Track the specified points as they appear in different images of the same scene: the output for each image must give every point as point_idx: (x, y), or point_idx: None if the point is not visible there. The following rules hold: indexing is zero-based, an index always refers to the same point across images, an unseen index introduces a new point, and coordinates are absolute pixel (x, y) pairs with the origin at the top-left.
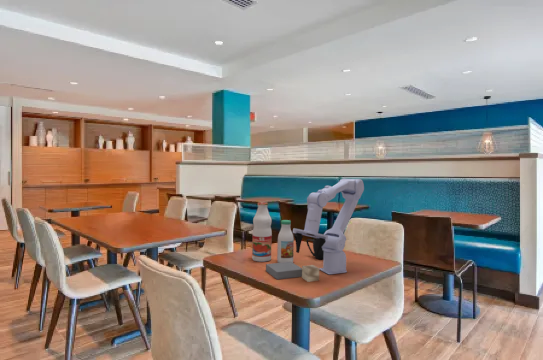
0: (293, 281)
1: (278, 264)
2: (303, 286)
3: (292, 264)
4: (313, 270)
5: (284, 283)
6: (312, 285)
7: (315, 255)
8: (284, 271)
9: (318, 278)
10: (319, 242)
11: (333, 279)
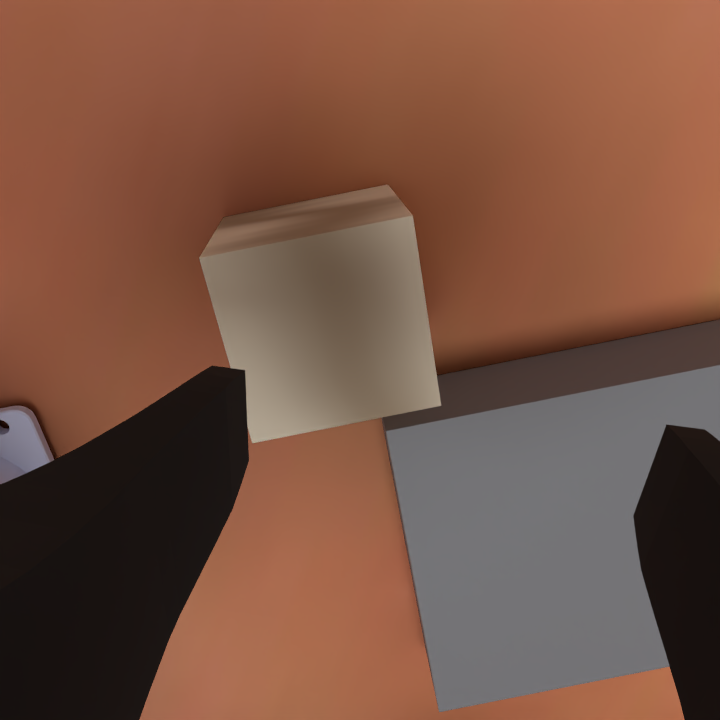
0: (563, 227)
1: (627, 627)
2: (513, 8)
3: (460, 617)
4: (310, 231)
5: (701, 171)
6: (376, 26)
7: (238, 394)
8: (676, 371)
9: (227, 221)
10: (27, 596)
11: (5, 226)
